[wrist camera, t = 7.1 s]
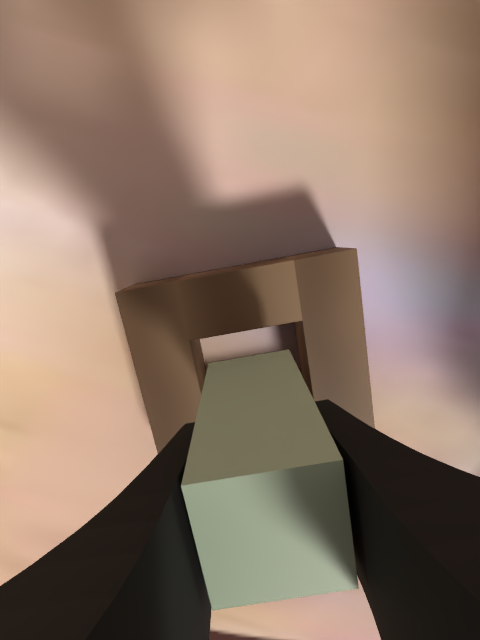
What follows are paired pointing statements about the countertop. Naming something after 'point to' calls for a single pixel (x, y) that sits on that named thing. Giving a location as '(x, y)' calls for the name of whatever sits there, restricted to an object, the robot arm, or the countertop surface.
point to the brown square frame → (246, 314)
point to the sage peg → (266, 487)
